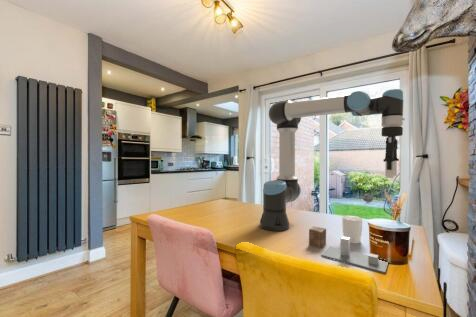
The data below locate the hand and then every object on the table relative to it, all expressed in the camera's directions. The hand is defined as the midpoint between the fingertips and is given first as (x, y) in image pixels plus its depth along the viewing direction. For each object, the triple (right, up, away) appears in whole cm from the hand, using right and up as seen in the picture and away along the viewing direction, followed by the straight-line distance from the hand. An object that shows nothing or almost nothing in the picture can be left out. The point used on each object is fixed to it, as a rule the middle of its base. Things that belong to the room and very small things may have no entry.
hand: (391, 176), depth 100 cm
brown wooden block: (-33, -28, -3) cm, 43 cm away
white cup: (-16, -28, +2) cm, 32 cm away
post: (-26, -28, -15) cm, 41 cm away
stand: (-24, -28, -16) cm, 41 cm away
